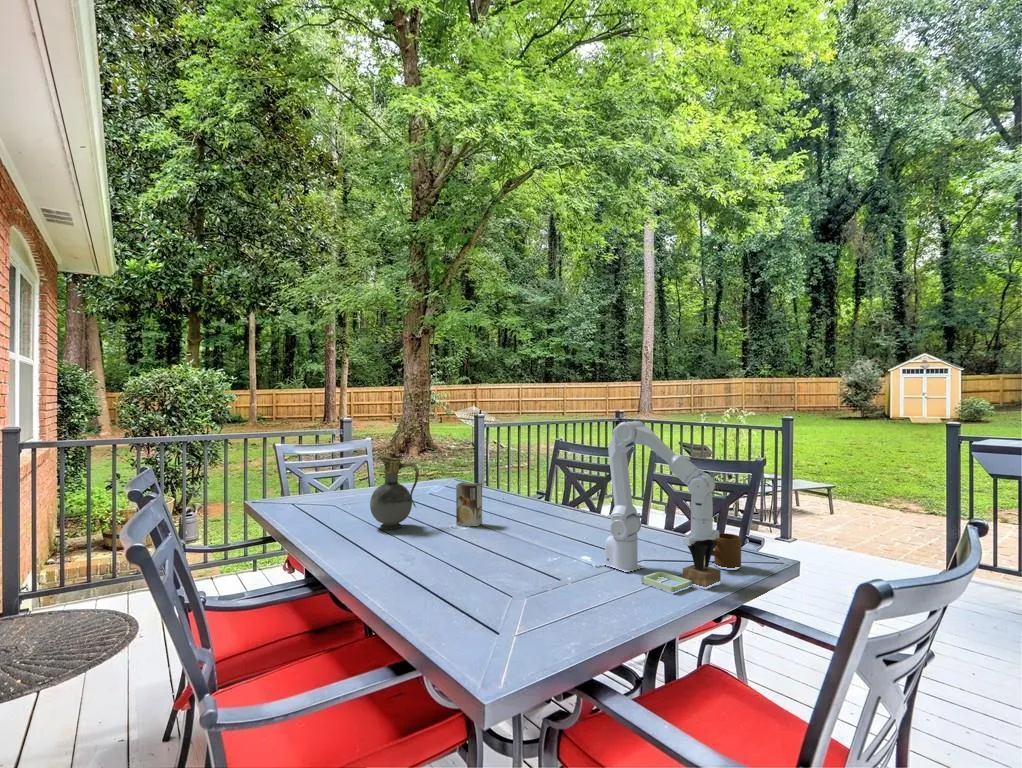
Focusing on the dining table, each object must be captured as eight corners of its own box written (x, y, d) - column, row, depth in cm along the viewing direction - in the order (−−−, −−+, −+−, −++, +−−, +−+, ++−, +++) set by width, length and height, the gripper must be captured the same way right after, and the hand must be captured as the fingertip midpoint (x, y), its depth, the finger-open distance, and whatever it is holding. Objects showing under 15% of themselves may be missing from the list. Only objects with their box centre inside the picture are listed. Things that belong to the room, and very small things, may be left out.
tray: (641, 583, 156) (641, 577, 156) (660, 577, 161) (660, 571, 161) (673, 594, 148) (673, 587, 148) (691, 587, 153) (691, 580, 153)
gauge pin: (696, 577, 157) (696, 549, 157) (700, 576, 158) (700, 547, 158) (702, 579, 155) (702, 550, 155) (706, 578, 156) (706, 549, 156)
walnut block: (682, 582, 157) (682, 568, 157) (697, 577, 161) (697, 563, 161) (705, 590, 151) (705, 575, 151) (720, 584, 156) (720, 569, 156)
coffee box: (483, 523, 224) (483, 483, 225) (477, 527, 218) (477, 485, 218) (461, 521, 227) (461, 482, 227) (455, 525, 221) (455, 484, 221)
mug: (716, 574, 164) (716, 542, 164) (697, 567, 171) (697, 535, 171) (746, 569, 169) (746, 537, 169) (727, 562, 176) (727, 532, 176)
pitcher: (366, 526, 218) (367, 449, 218) (413, 521, 228) (414, 446, 228) (375, 533, 209) (375, 452, 209) (423, 527, 218) (424, 449, 219)
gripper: (699, 524, 149) (699, 576, 149) (729, 517, 158) (729, 565, 158) (676, 519, 154) (676, 569, 154) (706, 512, 163) (706, 559, 163)
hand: (701, 567), depth 156 cm, fingers closed on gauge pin, 2 cm apart
